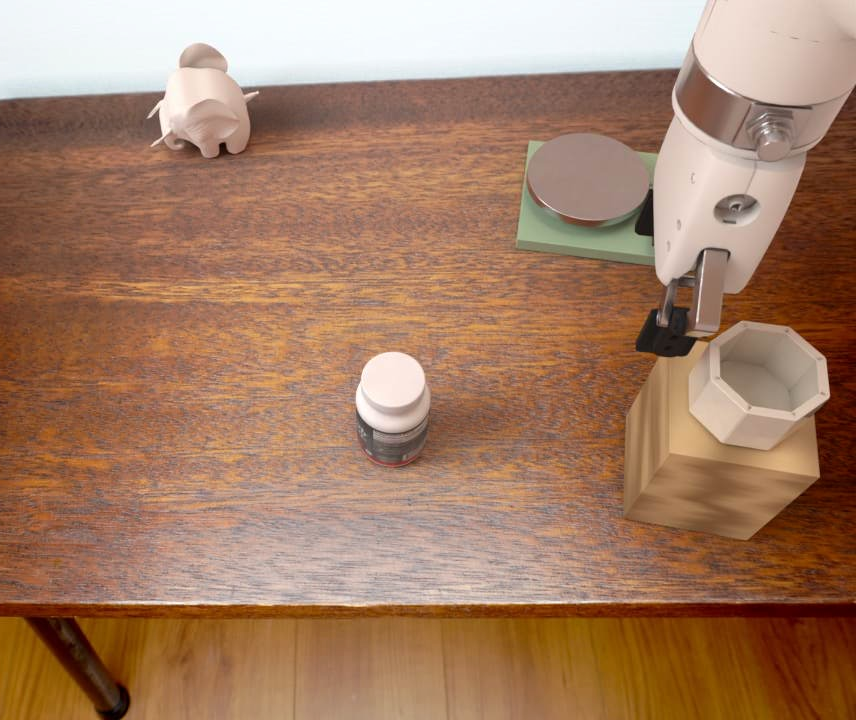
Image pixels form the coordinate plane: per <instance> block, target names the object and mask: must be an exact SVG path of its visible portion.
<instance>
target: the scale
mask: <svg viewBox="0 0 856 720" xmlns="http://www.w3.org/2000/svg"><path fill="white" fill-rule="evenodd" d="M546 142H547V141H542V140H541V141H540V140H533V139H532V140H531V139H530V140H528V146H527V150H526V157H525V158H526V159H525V167H524V176H523V182H522V191H521V192H522V193H521V199H520V208H519V213H518V214H519V215H518V224H517V230H516V231H517V232H516V238H515V250H516V249H517V250H527V251H532V252H539V253H540V252H541V253H548V254H555V255H564V256H571V257H579V258H586V259H596V260H603V261H611V262H618V263H627V264H635V265H643V266H651V267H655V247H654V246H652V237H651V236H641V235H638V234H637V233H635V223H636V220H637V218H638V215H639V213H640V210H641V208H642V206H641V207H640V209H639V210H638V211H637V212H636V213H635V214H634V215H632V216H631V217H629V218H628V219H626V220H624V221H622V222H619V223H617V224H614V225H609V226H604V227H581V226H575V225H571V224H568V223H565V222H562V221H560V220H557V219H555V218H553V217H552V216H550V215H549V214H547V213H546V212H544V211H543V210H542V209H541V208H540V207H539V206H538V205H537V204H536V203H535V202H534V200H533V199H532V197H531V195H530V193H529V191H528V188H527V183H526V174H527V170H528V165H529V162H530V159H531V157H532V156H533V154H534V153H535V152H536V151H537V149H538V148H539V147H541V146H542V145H543V144H545V143H546ZM634 151H635V150H634ZM635 152H636V153H637V154H638V155H639V157H640V158H641V159H642V160H643V162H644V163H645V165H646V167H647V170H648V173H649V178H650V185H649V189H653V179H654V173H655V166H656V162H657V159H658V156H659V153H656V152H655V153H654V152H645V151H635ZM648 191H649V190H648ZM643 203H644V202H643ZM642 205H643V204H642ZM696 264H697V263H694V265H693V267H692V269H691V270H690V271H689V272H694V271H696Z"/></svg>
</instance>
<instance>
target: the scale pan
mask: <svg viewBox="0 0 856 720" xmlns="http://www.w3.org/2000/svg"><path fill="white" fill-rule="evenodd" d="M545 142H546V143H545V144H543V145H542V146H541V147H539V148H538V149H537V151H536V152H535V153H534V154H533V156H532V157H531V159H530V162H529V165H528V170H527V174H526V183H527V188H528V191H529V193H530V195H531V197H532V199H533V200H534V202H535V203H536V204H537V205H538V206H539V207H540V208H541V209H542V210H543V211H544V212H546V213H547V214H549V215H550V216H552V217H553V218H555V219H557V220H560V221H562V222H565V223H568V224H571V225H575V226H581V227H604V226H609V225H614V224H617V223H619V222H622V221H624V220H626V219H628V218H629V217H631V216H632V215H634V214H635V213H636V212H637V211H638V210H639V209H640V207H641V206H642V204H643V202H644V200H645V198H646V195H647V193H648V190H649V185H650V178H649V173H648V170H647V167H646V165H645V163H644V162H643V160H642V159H641V158H640V157H639V155H638V154H637V153H636V152H635V150H634V149H632V148H631V147H629V146H628V145H627V144H626V143H625V144H624V143H623V142H622V141H619V140H618V139H615V138H613V137H609V136H607V135H602V134H597V133H592V132H591V133H590V132H575V133H567V134H564V135H563V134H562V135H560V136H557V137H556V136H555V137H554V138H552V139H549V140H548V141H545ZM652 246H654V237H652Z"/></svg>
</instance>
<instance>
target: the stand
mask: <svg viewBox="0 0 856 720" xmlns="http://www.w3.org/2000/svg"><path fill="white" fill-rule="evenodd" d="M708 344H709V342H707V341H701V340H697V341H696V343H695V344H694V346H693V347H692V349H691V351H690V352H689V354H688V355H687V356H684V357H678V356H676V357H671V358H669V357H660V356H658V357H657V360H656V362H655V364H654V365H653V367H652V368H651V371H650V372H649V374H648V376H647V378H646V380H645V381H644V383H643V385H642V387H641V388H640V390H639V392H638V394H637V396H636V398H635V400H634V401H633V403H632V404H631V407H630V408H629V410H628V412H627V413H626V415H625V431H624V432H625V434H624V435H625V436H624V437H625V438H624V463H623V491H622V519H625V520H630V521H634V522H635V521H636V522H639V523H645V524H652V525H658V526H663V527H668V528H674V529H679V530H685V531H691V532H697V533H703V534H708V535H714V536H720V537H723V538H724V537H725V538H729V539H736V540H742V541H749V539H751V538H752V537H753V536H754V535H756V533H757V532H758V531H760V530H761V529H762V528H764V527H765V525H767V524H768V523H769V522H770V521H771V520H773V519H774V518H775V517H776V516H777V515H778V514H779V513H780V512H782V511H783V510H784V509H785V508H786V507H788V505H790V504H791V503H792V502H793V501H795V500H796V499H797V498H798V497H799V496H800V495H802V494H803V493H804V492H805V491H806V490H807V489H808V488H809V487H811V486H812V485H813V484H814V483H815V482H817V481H818V479H820V478H821V472H820V463H819V452H818V450H819V449H818V442H817V441H818V440H817V430H816V421H815V419H816V418H815V413H814V414H813V415H812V416H811V417H810V418H809V419H808V420H807V421H806V423H805V424H804V425H803V426H802V427H801V428H800V429H798V430H797V431H796V432H794V433H793V434H791V435H790V436H789V437H787V438H786V439H784V440H783V441H782V442H780V443H779V444H777V445H776V446H775V447H773V448H772V449H770V450H762V449H755V448H749V447H743V446H737V445H730V444H724V443H721V442H720V441H719V440H718V439H717V438H716V437H715V436H714V435H713V434H712V433H711V432H710V431H709V430H708V429H707V428H706V427H705V426H704V425H703V424H702V423H701V422H700V421H699V420H698V419H697V418H696V417H695V416H694V415H692V414H691V413H690V411H689V374H690V372H691V371H692V369H693V368H694V366H695V364H696V363H697V361H698V360H699V358H700V357H701V355H702V353H703V352H704V350H705V349H706V347H707V346H708Z"/></svg>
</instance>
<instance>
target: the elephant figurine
mask: <svg viewBox="0 0 856 720" xmlns="http://www.w3.org/2000/svg"><path fill="white" fill-rule="evenodd" d="M228 68H229V65H228V61H227V59H226V57H225V56H224V55H223V54H222V53H221V52H220V51H219V50H217V48H215V47H213V46H212V45H210V44H207V43H204V42H194V43H192V44H190V45H187V47H186V48H184V49H183V51H182V52H181V53H180V56H179V57H178V61H177V67H176V69H175V70H173V72H172V73H171V74H170V75H169V76H168V78H167V82H166V85H165V93H164V97H163V99H161V100H159V102H158V103H157V104H156V105H155V107H154V108H153V109H152V110H151V111H150V112H149V114H148V116H147V117H146V120H148V119H151V118H152V117H153V116H154V115H155V113H157V112H158V110H159V112H158V116H159V118H158V119H159V124H160V129H161V130H160V131H161V135H162V136H161V137H160V138H158V139H157V140H155V141H154V142H153V143H152V144H151V145H150V148H153V147H155V146H157V145H160V144H162V142H163V141H164V143H165V144H166V145H167V147H168V148H170V150H174V151H179V150H182V149H183V148H185V146H186V142H185V141H187V142H190V143H191V144H193V145H195V147H198V148H199V150H200V152H201V155H202V156H203V157H204V158H206V159H212V158H216V157H217V156H219V154H220V144H222V143H225V147H226V150H227V152H228V153H230V154H232V155H237V154H239V153H241V152H243V151H244V150H245V149H246V147H247V144H248V142H249V139H250V134H251V122H250V121H251V120H250V117H249V111H248V107H247V103H248V102H249V101H251V100H252V99H253V98H255V97H256V96H257V95H259V94H260V92H259V90H256V91H254V92H250V93H249V92H248V93H245V94H244V92H243V90H242V88H241V87H240V85H239V83H238V82H237V81H236V80H235V79H234V78H232V77H231V76H230V75H229V74H228V73H227V72H228Z"/></svg>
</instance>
